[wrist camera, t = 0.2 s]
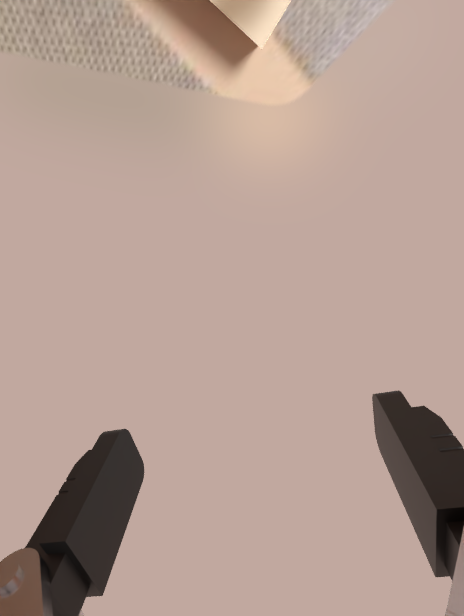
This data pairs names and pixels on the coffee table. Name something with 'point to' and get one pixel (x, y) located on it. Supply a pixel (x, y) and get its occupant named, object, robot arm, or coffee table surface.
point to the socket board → (254, 16)
